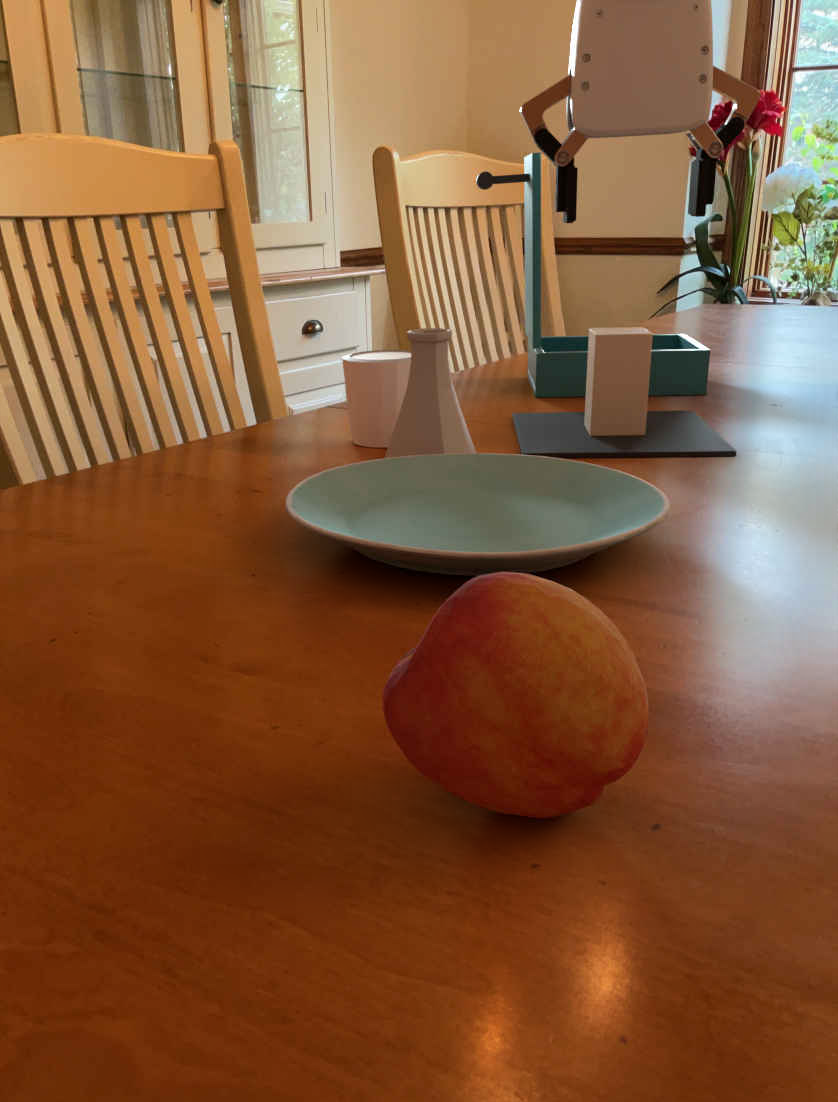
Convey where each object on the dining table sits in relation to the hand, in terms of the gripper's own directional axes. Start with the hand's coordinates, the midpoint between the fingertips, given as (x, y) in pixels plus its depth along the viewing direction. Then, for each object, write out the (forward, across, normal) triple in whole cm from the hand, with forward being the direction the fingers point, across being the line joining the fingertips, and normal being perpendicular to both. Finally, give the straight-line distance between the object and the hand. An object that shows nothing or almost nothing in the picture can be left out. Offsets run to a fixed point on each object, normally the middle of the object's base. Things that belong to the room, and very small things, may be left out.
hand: (632, 219), depth 80 cm
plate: (+16, +13, +28) cm, 35 cm away
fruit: (+16, +12, +57) cm, 61 cm away
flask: (+16, +16, +11) cm, 25 cm away
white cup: (+16, +20, +1) cm, 26 cm away
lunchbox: (+17, -2, -24) cm, 29 cm away
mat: (+17, +1, 0) cm, 17 cm away
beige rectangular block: (+16, +1, 0) cm, 16 cm away
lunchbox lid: (+3, +6, -24) cm, 25 cm away
